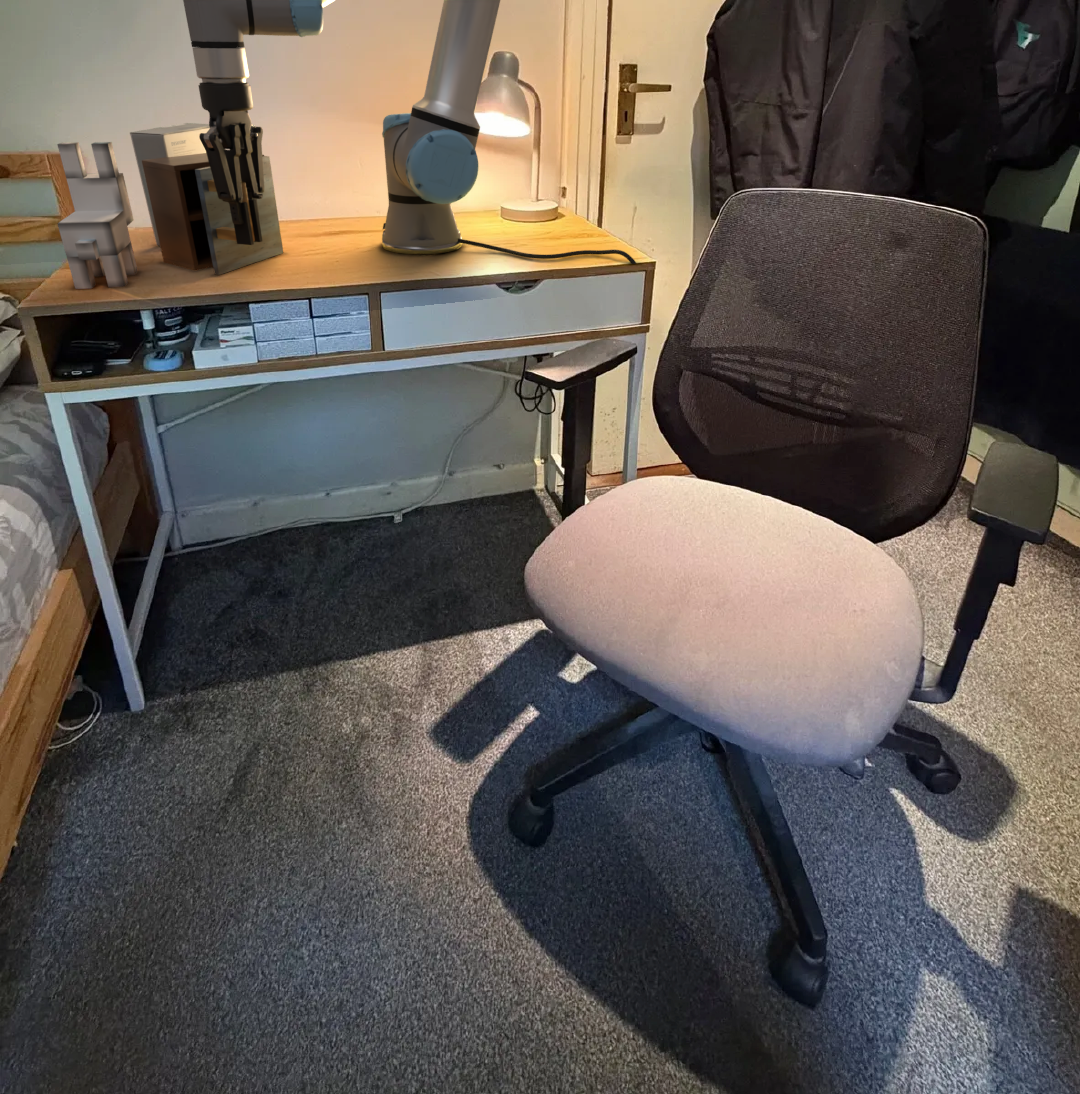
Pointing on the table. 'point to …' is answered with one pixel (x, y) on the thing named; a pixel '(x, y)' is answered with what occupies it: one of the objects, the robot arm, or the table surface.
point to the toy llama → (97, 218)
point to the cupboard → (179, 209)
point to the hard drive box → (166, 149)
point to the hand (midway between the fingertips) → (249, 242)
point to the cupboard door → (222, 228)
